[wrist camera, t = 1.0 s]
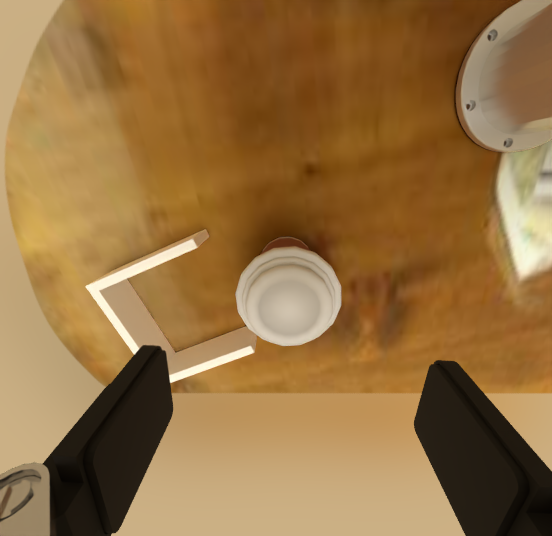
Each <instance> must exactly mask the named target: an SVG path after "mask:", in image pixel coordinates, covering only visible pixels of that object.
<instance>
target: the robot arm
mask: <svg viewBox="0 0 552 536" xmlns="http://www.w3.org/2000/svg"><path fill="white" fill-rule="evenodd" d="M466 105H467V108H466ZM456 107H457V114H458V117H459V120H460V123H461V125H462V127H463V129H464V130H465V132H466V133H467V135H468V136H469V137H470V138H471V139H472V140H473V141H474V142H475V143H476V144H478V145H480V146H482V147H483V148H485V149H488V150H492V151H495V152H519V151H524V150H528V149H532V148H535V147H537V146H540V145H542V144H544V143H546V142H548V141H549V140H551V139H552V0H521V1H520V2H518V3H516V4H515V5H513V6H511V7H510V8H508V9H507V10H505V11H504V12H503V13H501V14H500V15H499V16H497V17H496V18H495V19H493V20H492V21H491V22H490V23H489V24H488V25H487V26H486V27H485V28H484V29H483V30H482V32H481V33H480V34H479V36H478V37H477V38H476V40H475V41H474V42H473V44H472V45H471V47H470V49H469V51H468V53H467V55H466V56H465V58H464V61H463V64H462V66H461V69H460V72H459V76H458V81H457V86H456ZM172 413H173V402H172V394H171V386H170V378H169V370H168V363H167V355H166V351H165V350H162V348H161V347H160V346H155V345H143V346H141V347H140V349H139V350H138V351H137V352H136V353H135V355H134V356H133V357H132V358H131V360H130V361H129V362H128V363H127V364H126V366H125V367H124V368H123V369H122V371H121V372H120V373H119V374H118V375H117V377H116V378H115V379H114V380H113V382H112V383H111V384H109V385H108V386H107V387H106V388H105V389H104V390H103V391H102V393H101V394H100V395H99V396H98V397H97V399H96V400H95V401H94V402H93V403H92V405H91V406H90V407H89V408H88V410H87V411H86V412H85V413H84V414H83V416H82V417H81V418H80V419H79V420H78V422H77V423H76V424H75V425H74V426H73V428H72V429H71V430H70V431H69V433H68V434H67V435H66V436H65V437H64V439H63V440H62V441H61V442H60V443H59V445H58V446H57V447H56V448H55V449H54V451H53V452H52V453H51V454H50V456H49V457H48V458H47V459H46V460H45V462H44V463H43V464H39V463H29V464H23V465H20V466H18V467H15V468H12V469H10V470H8V471H6V472H5V473H3V474H1V475H0V536H111V534H112V533H116V532H117V531H118V530H119V528H120V527H121V525H122V523H123V520H124V518H125V516H126V514H127V512H128V510H129V507H130V505H131V503H132V501H133V499H134V497H135V495H136V492H137V490H138V488H139V486H140V484H141V482H142V479H143V477H144V475H145V473H146V471H147V469H148V467H149V464H150V462H151V460H152V458H153V456H154V454H155V452H156V449H157V447H158V445H159V443H160V440H161V438H162V437H163V434H164V432H165V430H166V428H167V426H168V423H169V422H170V419H171V417H172ZM414 428H415V431H416V434H417V436H418V438H419V440H420V442H421V444H422V446H423V448H424V451H425V452H426V455H427V457H428V459H429V461H430V463H431V465H432V467H433V469H434V471H435V473H436V475H437V477H438V480H439V481H440V484H441V486H442V488H443V490H444V492H445V494H446V496H447V498H448V500H449V502H450V504H451V506H452V509H453V511H454V513H455V515H456V517H457V519H458V521H459V523H460V525H461V527H462V529H463V531H464V533H465V535H466V536H552V471H551V470H550V469H549V468H548V467H547V466H546V464H545V463H544V462H543V461H542V460H541V459H540V458H539V456H538V455H537V454H536V453H535V452H534V451H533V450H532V448H531V447H530V446H529V445H528V444H527V443H526V441H525V440H524V439H523V438H522V437H521V436H520V434H519V433H518V432H517V431H516V430H515V429H514V428H513V426H512V425H511V424H510V423H509V422H508V421H507V420H506V418H505V417H504V416H503V415H502V414H501V413H500V412H499V410H498V409H497V408H496V407H495V406H494V404H493V403H492V402H491V401H490V400H489V399H488V398H487V396H486V395H485V394H484V393H483V392H482V391H481V390H480V388H479V387H478V386H477V385H476V384H475V383H474V381H473V380H472V379H471V378H470V377H469V376H468V375H467V373H466V372H465V371H464V370H463V369H462V368H461V366H460V365H459V364H458V363H457V362H455V361H441V360H437V361H435V362H434V364H432V365H430V367H429V370H428V373H427V377H426V380H425V384H424V388H423V391H422V395H421V398H420V402H419V406H418V409H417V413H416V417H415V420H414Z"/></svg>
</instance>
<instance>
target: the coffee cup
mask: <svg viewBox="0 0 552 536" xmlns="http://www.w3.org/2000/svg"><path fill="white" fill-rule="evenodd" d="M235 294H236V301H237V308H238V313H239V314H240V316H241V318H242V319H243V321H244V322H245V324H246V326H247V327H248V329H250V330H251V331H252V332H254V333H255V334H256V335H258V336H259V337H261V338H262V339H263V340H266V341H268V342H271V343H275V344H278V345H282V346H293V345H301V344H304V343H306V342H309V341H311V340H313V339H315V338H317V337H319V336H320V335H321V334H322V333H323V332H325V331H326V330H327V329H328V328H329V327H330V326H331V325H332V324H333V323H334V320H335V318H336V316H337V314H338V312H339V309H340V307H341V285H340V283H339V281H338V279H337V277H336V274H335V272H334V270H333V268H332V266H331V265H329V264H328V263H327V262H326V261H325V260H324V259H322V258H321V257H320V256H319V255H318V254H317V253H315V252H312V251H310V249H309V248H308V246H307V245H305V244H304V243H303V242H302V241H301V240H299V239H296V238H293V237H279V238H277V239H275V240H273V241H271V242H269V243H268V244H267V246H266V247H265V248H264V249H263V251H262V253H261V255H259V256H257V257H255V258H254V259H253V260H252V261H251V263H250V264H249V265H248V266H247V267H246V268H245V270H244V271H243V272H242V274H241V277H240V280H239V283H238V287H237V290H236V293H235Z"/></svg>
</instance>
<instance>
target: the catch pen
mask: <svg viewBox="0 0 552 536" xmlns="http://www.w3.org/2000/svg"><path fill="white" fill-rule="evenodd" d="M209 237H210V236H209V234H208V232H207V230H206V229H204V230H202V231H200V232H197V233H195V234H193V235H191V236H188V237H186V238H184V239H182V240H180V241H177V242H175V243H173V244H171V245H168V246H166V247H164V248H162V249H159V250H157V251H155V252H153V253H150V254H148V255H146V256H144V257H141V258H139V259H137V260H135V261H133V262H130V263H128V264H126V265H124V266H121V267H119V268H117V269H115V270H112V271H111V272H109V273H107V274H106V275H104V276H102V277H100V278H99V279H97V280H95V281H94V282H92V283H90V284H88V285H87V286H86V288H87V289H88V291H89V292H90V293H91V295H92V296H93V298H94V299H95V300H96V302H97V303H98V305H99V306H100V307H101V309H102V310H103V312H104V313H105V314H106V316H107V317H108V319H109V320H110V321H111V323H112V324H113V326H114V327H115V328H116V330H117V331H118V333H119V334H120V335H121V337H122V338H123V340H124V341H125V342H126V344H127V345H128V347H129V348H130V349H131V351H132V352H133V354H134V355H135V353H136V352H137V351H138V350H139V349H140V347H141V346H143V345H155V346H160V347H161V348H162V350H165V351H166V355H167V363H168V370H169V378H170V383H171V382H174V381H177V380H180V379H182V378H185V377H188V376H191V375H193V374H196V373H199V372H202V371H205V370H207V369H210V368H213V367H216V366H218V365H221V364H224V363H227V362H230V361H232V360H235V359H238V358H241V357H243V356H246V355H249V354H252V353H254V352H255V346H256V339H257V335H256V334H255V333H254V332H252V331H251V330H250V329H248V327H247V326H245V327H242V328H240V329H237V330H234V331H232V332H229V333H226V334H224V335H221V336H218V337H216V338H213V339H211V340H208V341H205V342H203V343H200V344H197V345H195V346H192V347H189V348H187V349H184V350H181V351H179V352H176V353H175V351H174V350H173V348H172V347H171V345H170V343H169V342H168V340H167V339H166V337H165V336H164V334H163V333H162V331H161V330H160V328H159V327H158V325H157V324H156V322H155V321H154V319H153V318H152V316H151V314H150V313H149V311H148V310H147V308H146V307H145V305H144V304H143V302H142V301H141V299H140V298H139V296H138V295H137V293H136V292H135V290H134V289H133V287H132V285H131V284H130V282H129V281H128V279H127V278H129V277H132V276H134V275H136V274H138V273H141V272H143V271H145V270H148V269H150V268H152V267H154V266H157V265H159V264H161V263H164V262H166V261H168V260H170V259H173V258H175V257H177V256H180V255H182V254H184V253H186V252H189V251H191V250H193V249H196V248H198V247H199V246H200V245H201V244H202V243H203V242H204V241H205V240H207V239H208V238H209Z"/></svg>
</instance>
